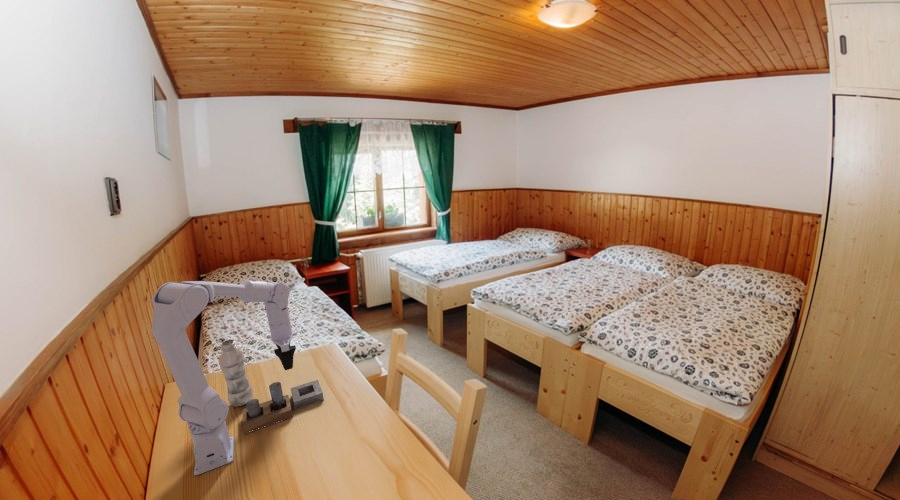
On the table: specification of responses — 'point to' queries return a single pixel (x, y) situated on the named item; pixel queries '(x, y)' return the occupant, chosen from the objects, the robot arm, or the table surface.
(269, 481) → the table surface
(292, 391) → the socket block
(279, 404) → the shiny steel cylinder
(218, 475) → the table surface
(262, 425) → the rack
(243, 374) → the plastic bottle
